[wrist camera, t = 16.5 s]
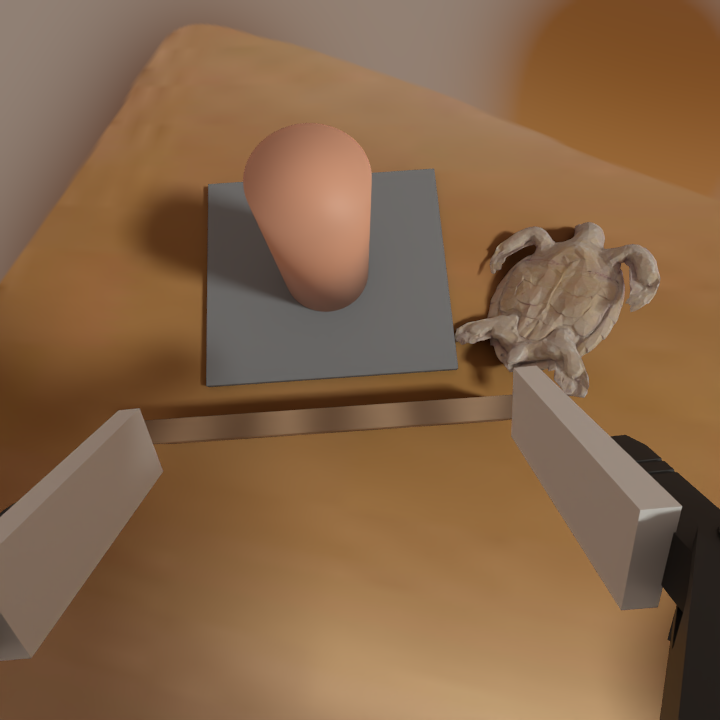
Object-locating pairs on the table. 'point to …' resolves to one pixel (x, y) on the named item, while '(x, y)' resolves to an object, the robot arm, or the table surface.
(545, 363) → the turtle
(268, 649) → the table surface
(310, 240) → the pink rounded cylinder
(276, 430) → the wooden plank
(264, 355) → the mat
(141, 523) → the table surface
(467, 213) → the table surface
